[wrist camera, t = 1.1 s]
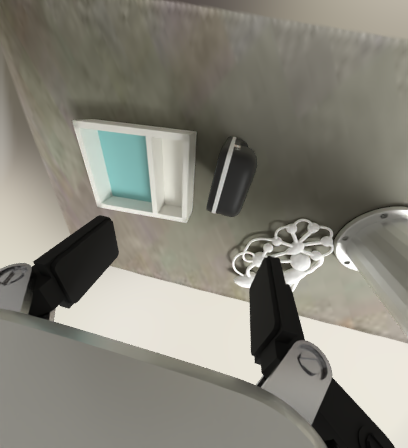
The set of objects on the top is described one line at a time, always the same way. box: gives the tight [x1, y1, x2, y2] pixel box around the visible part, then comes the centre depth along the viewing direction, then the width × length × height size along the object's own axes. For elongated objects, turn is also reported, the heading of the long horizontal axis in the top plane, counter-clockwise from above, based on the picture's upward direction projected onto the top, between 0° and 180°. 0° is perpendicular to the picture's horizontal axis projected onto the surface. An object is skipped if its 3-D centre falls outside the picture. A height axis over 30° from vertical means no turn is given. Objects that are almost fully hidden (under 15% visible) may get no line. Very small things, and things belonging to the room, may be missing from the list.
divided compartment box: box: [72, 119, 197, 223], centre depth 27 cm, size 16×13×4 cm
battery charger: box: [206, 137, 257, 217], centre depth 21 cm, size 7×4×11 cm, turn 168°
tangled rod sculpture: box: [232, 219, 334, 292], centre depth 32 cm, size 19×14×4 cm
